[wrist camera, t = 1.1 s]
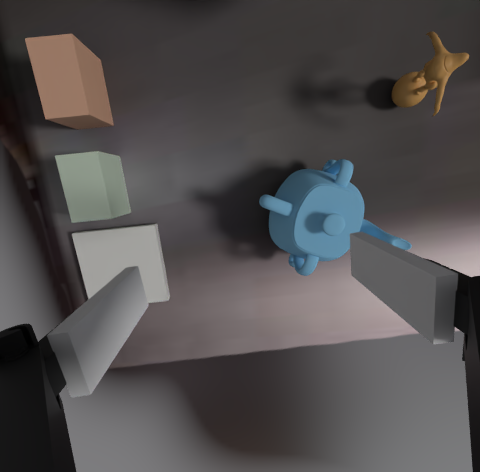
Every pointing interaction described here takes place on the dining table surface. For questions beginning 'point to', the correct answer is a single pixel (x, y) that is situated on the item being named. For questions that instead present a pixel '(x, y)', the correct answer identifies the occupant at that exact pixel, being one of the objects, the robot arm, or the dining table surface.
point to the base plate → (122, 258)
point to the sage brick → (93, 186)
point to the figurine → (428, 77)
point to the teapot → (319, 216)
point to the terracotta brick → (69, 82)
